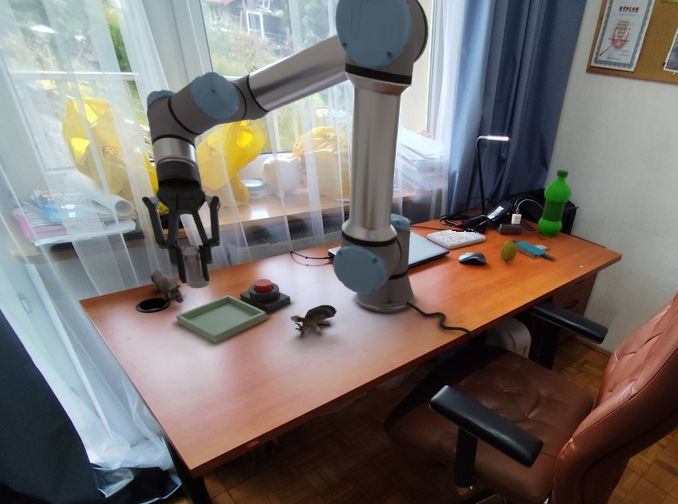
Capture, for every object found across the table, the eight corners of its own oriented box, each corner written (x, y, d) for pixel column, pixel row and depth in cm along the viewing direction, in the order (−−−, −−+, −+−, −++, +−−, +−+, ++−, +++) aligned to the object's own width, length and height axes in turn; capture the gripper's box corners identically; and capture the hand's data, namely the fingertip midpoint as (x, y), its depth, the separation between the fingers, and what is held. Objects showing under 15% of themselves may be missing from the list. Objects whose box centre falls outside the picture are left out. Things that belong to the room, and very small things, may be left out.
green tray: (267, 319, 100) (266, 312, 99) (216, 343, 90) (214, 336, 89) (230, 301, 104) (228, 294, 103) (177, 322, 95) (175, 315, 94)
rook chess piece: (215, 281, 87) (207, 244, 83) (203, 290, 83) (193, 252, 79) (195, 278, 87) (185, 241, 83) (181, 287, 84) (170, 249, 79)
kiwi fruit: (516, 262, 145) (521, 240, 141) (510, 267, 141) (514, 244, 137) (502, 258, 147) (506, 236, 143) (495, 262, 143) (499, 240, 139)
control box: (290, 303, 107) (289, 289, 104) (268, 313, 102) (266, 299, 99) (263, 291, 110) (261, 277, 108) (240, 301, 105) (238, 286, 103)
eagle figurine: (319, 341, 92) (344, 318, 98) (299, 315, 89) (326, 293, 95) (301, 345, 97) (325, 323, 103) (281, 321, 94) (307, 300, 100)
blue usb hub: (563, 257, 154) (565, 253, 153) (542, 262, 148) (543, 258, 147) (525, 239, 167) (526, 235, 166) (504, 243, 160) (504, 239, 159)
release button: (276, 289, 105) (274, 282, 104) (262, 294, 102) (261, 287, 101) (265, 284, 106) (263, 277, 105) (251, 289, 103) (250, 282, 102)
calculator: (425, 238, 156) (425, 233, 155) (462, 230, 168) (463, 225, 167) (449, 250, 148) (450, 245, 147) (486, 240, 161) (487, 236, 159)
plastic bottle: (564, 238, 173) (581, 174, 159) (542, 238, 170) (557, 173, 156) (553, 229, 181) (568, 168, 167) (531, 229, 178) (545, 167, 164)
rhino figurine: (174, 311, 98) (167, 288, 95) (151, 290, 105) (144, 268, 102) (192, 306, 101) (186, 284, 97) (169, 286, 108) (163, 264, 104)
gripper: (225, 180, 90) (242, 282, 88) (135, 180, 84) (151, 290, 81) (220, 159, 83) (239, 269, 81) (122, 157, 77) (138, 276, 74)
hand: (194, 279), depth 81 cm, fingers closed on rook chess piece, 3 cm apart
